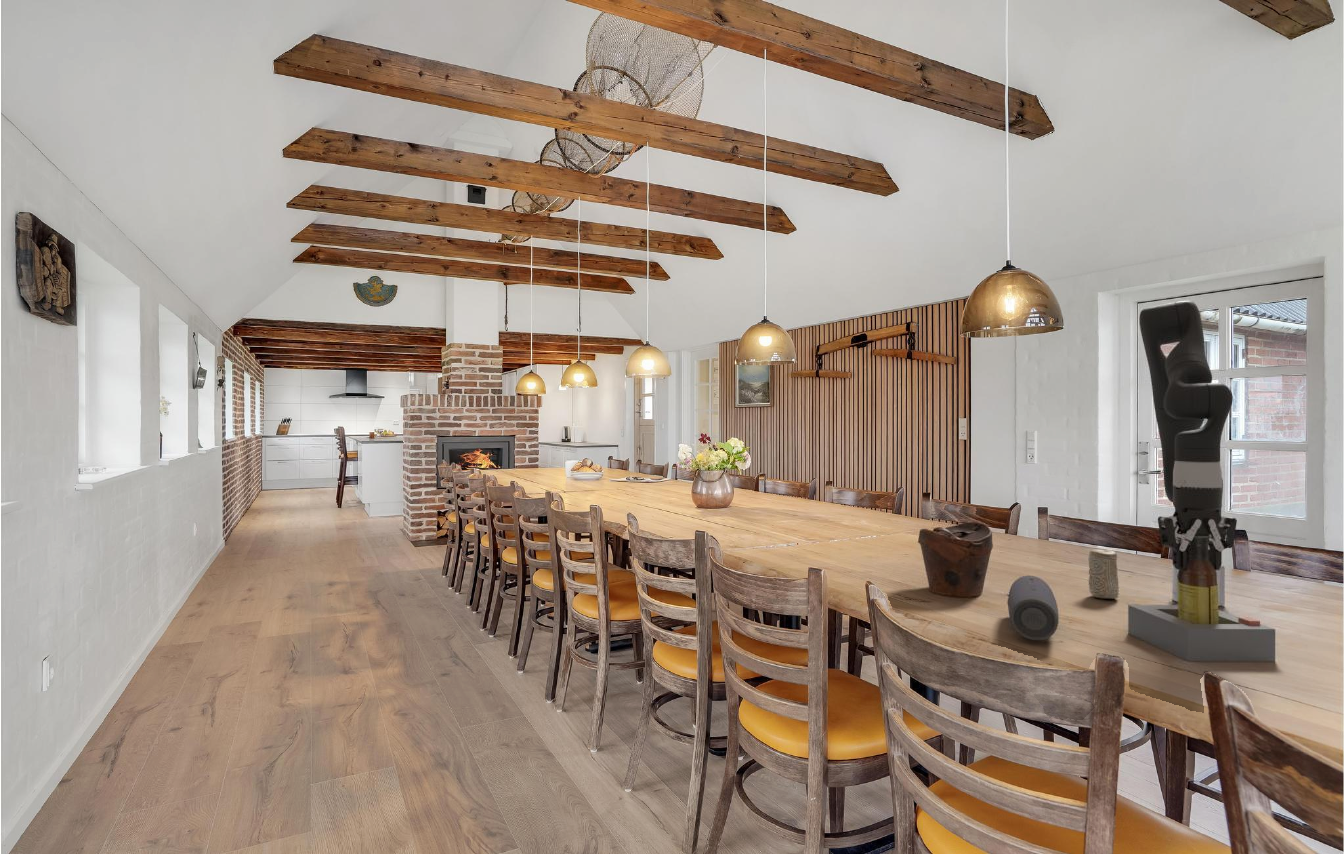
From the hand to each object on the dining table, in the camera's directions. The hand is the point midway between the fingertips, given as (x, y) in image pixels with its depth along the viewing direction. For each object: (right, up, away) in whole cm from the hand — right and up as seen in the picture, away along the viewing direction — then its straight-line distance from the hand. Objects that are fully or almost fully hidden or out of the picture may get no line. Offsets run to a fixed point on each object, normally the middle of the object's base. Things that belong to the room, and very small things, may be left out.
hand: (1196, 569), depth 128 cm
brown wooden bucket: (-29, -15, +42) cm, 54 cm away
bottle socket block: (0, -15, 0) cm, 15 cm away
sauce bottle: (0, -13, 0) cm, 13 cm away
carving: (+5, -15, +36) cm, 39 cm away
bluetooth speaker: (-27, -16, +10) cm, 33 cm away
